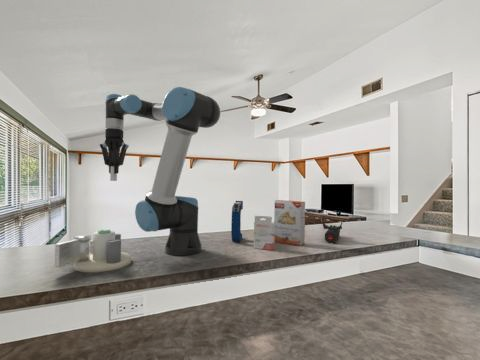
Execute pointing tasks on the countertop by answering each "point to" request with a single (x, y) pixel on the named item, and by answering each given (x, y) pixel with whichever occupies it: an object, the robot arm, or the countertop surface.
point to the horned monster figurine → (332, 232)
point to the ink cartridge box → (263, 233)
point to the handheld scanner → (236, 221)
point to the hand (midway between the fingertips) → (113, 180)
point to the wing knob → (73, 250)
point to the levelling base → (102, 264)
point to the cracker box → (289, 222)
